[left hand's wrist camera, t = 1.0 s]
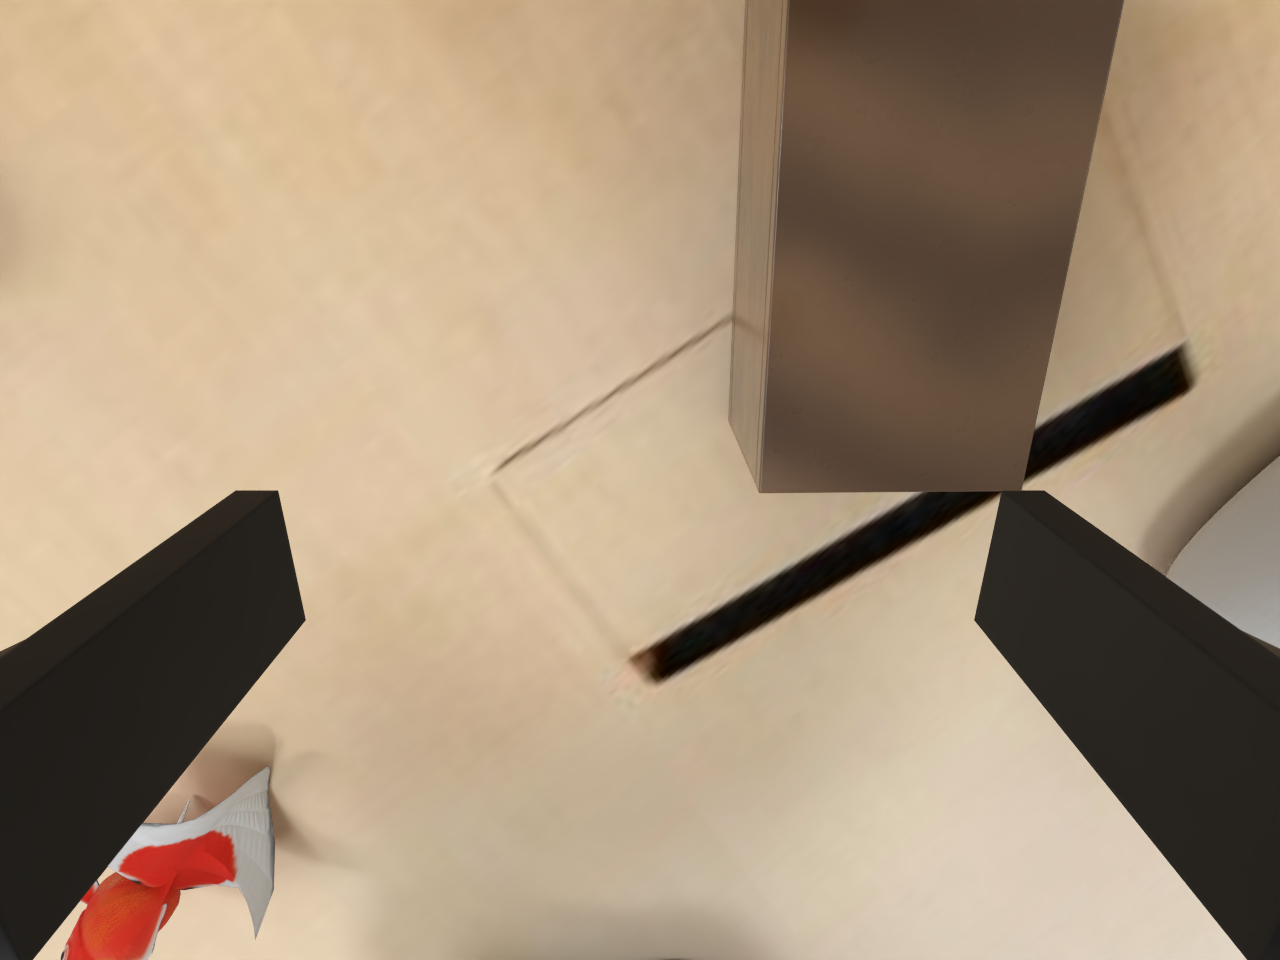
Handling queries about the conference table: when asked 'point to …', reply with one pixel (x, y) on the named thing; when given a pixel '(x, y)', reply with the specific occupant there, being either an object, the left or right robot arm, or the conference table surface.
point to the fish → (178, 874)
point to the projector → (1239, 559)
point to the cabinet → (906, 234)
